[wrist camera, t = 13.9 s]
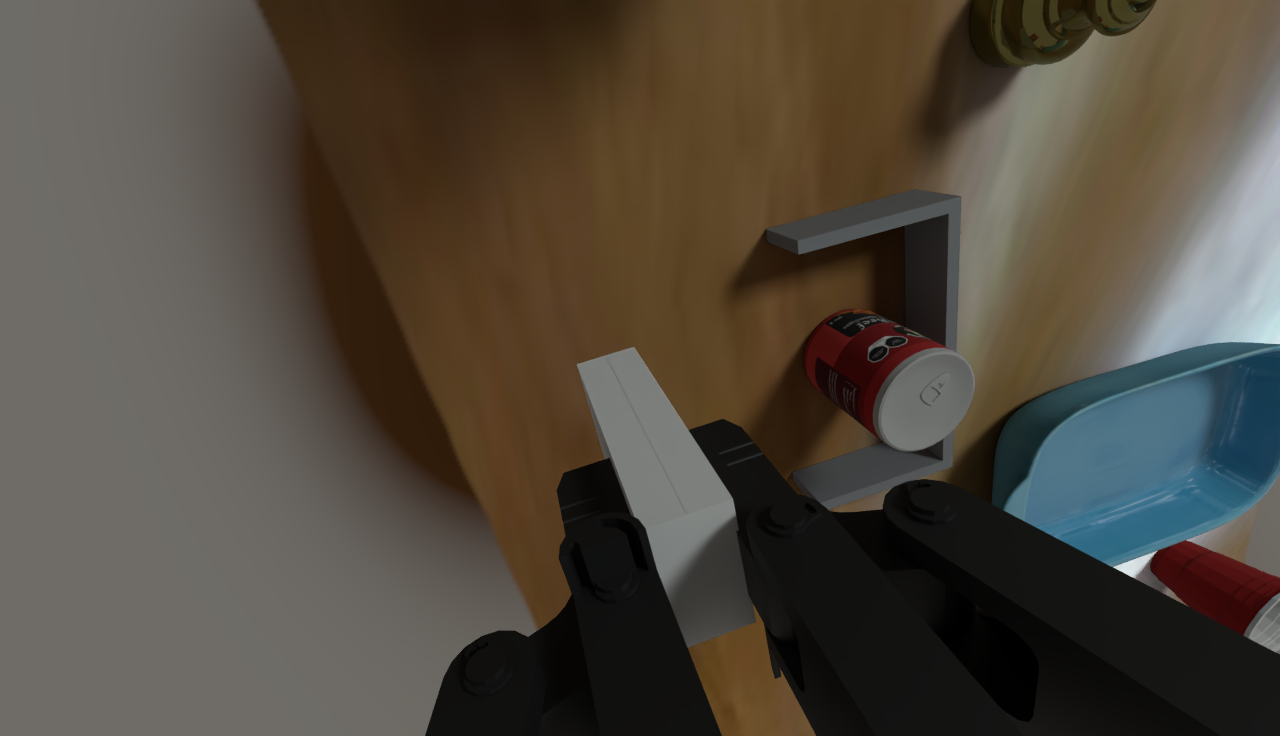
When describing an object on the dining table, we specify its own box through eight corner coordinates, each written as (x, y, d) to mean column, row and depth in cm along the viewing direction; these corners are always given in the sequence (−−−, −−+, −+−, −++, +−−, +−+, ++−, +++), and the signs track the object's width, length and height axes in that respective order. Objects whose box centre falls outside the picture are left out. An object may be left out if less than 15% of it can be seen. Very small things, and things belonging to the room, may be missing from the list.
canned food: (896, 318, 51) (995, 365, 42) (855, 399, 54) (940, 462, 44) (826, 294, 49) (914, 337, 39) (786, 380, 51) (860, 442, 41)
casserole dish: (949, 569, 66) (999, 617, 60) (957, 396, 57) (1017, 431, 51) (1214, 472, 72) (1286, 506, 65) (1261, 300, 62) (1351, 320, 56)
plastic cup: (1197, 572, 79) (1310, 643, 68) (1129, 601, 77) (1234, 678, 67) (1212, 509, 74) (1337, 574, 63) (1141, 538, 73) (1256, 610, 62)
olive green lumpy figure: (1066, 19, 45) (1212, -6, 36) (990, 91, 46) (1115, 83, 37) (1030, -72, 42) (1181, -125, 33) (950, 6, 42) (1076, -25, 34)
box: (765, 229, 45) (797, 240, 41) (915, 189, 47) (961, 196, 43) (793, 480, 55) (820, 512, 51) (915, 439, 57) (952, 466, 53)
